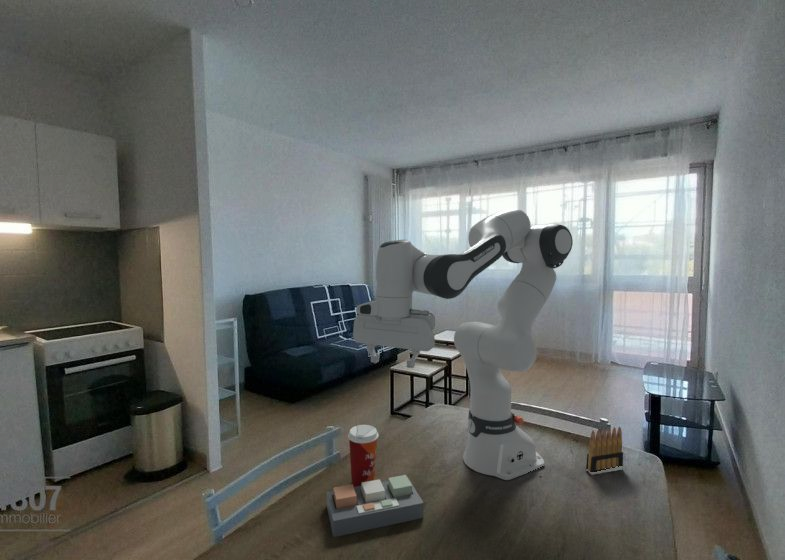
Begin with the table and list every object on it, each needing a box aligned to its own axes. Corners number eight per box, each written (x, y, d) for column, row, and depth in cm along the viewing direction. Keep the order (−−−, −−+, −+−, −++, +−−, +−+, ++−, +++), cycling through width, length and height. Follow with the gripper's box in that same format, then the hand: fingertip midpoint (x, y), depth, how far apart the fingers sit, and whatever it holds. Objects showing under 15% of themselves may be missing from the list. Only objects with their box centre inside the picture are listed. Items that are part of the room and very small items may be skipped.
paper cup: (373, 495, 92) (374, 439, 91) (343, 491, 93) (343, 436, 92) (381, 476, 100) (381, 425, 99) (353, 473, 101) (353, 422, 100)
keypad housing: (407, 490, 94) (408, 475, 93) (423, 517, 84) (423, 500, 84) (326, 506, 88) (326, 489, 87) (333, 537, 78) (333, 518, 78)
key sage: (405, 484, 91) (405, 474, 91) (412, 495, 87) (412, 485, 87) (388, 487, 90) (388, 477, 90) (393, 499, 86) (393, 488, 86)
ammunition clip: (590, 475, 101) (593, 432, 100) (585, 471, 103) (587, 429, 102) (623, 470, 104) (625, 427, 103) (617, 466, 106) (619, 424, 105)
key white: (379, 489, 89) (379, 479, 89) (384, 500, 85) (385, 490, 85) (361, 492, 88) (361, 482, 88) (365, 504, 84) (365, 494, 84)
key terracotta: (352, 494, 88) (352, 484, 87) (356, 506, 83) (356, 495, 83) (333, 497, 86) (333, 487, 86) (336, 510, 82) (336, 499, 82)
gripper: (439, 309, 89) (437, 367, 90) (362, 303, 98) (361, 356, 98) (431, 313, 84) (429, 374, 84) (350, 306, 92) (349, 362, 93)
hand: (392, 364), depth 92 cm, fingers open, 8 cm apart
